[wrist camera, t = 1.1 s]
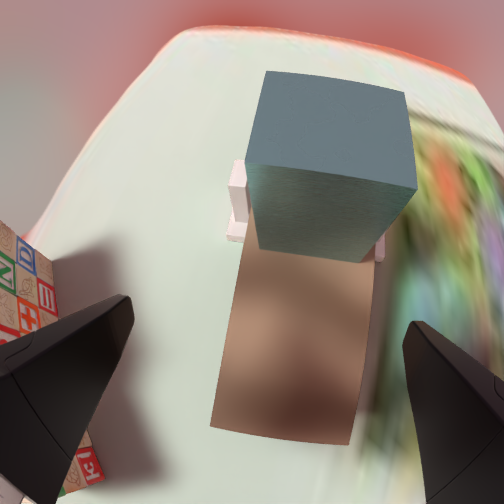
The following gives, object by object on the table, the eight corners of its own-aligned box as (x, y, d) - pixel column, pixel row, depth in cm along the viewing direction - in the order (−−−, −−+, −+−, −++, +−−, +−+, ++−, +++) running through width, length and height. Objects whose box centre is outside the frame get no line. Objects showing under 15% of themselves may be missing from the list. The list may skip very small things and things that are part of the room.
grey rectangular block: (358, 263, 18) (417, 189, 9) (259, 249, 19) (244, 162, 10) (361, 190, 19) (403, 92, 11) (271, 177, 20) (266, 70, 12)
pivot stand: (381, 262, 25) (407, 227, 19) (227, 240, 26) (216, 200, 21) (380, 211, 27) (401, 170, 21) (239, 191, 28) (232, 146, 23)
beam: (339, 426, 20) (356, 445, 15) (217, 409, 21) (201, 424, 16) (365, 138, 27) (377, 100, 22) (271, 124, 28) (269, 85, 23)
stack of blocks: (109, 479, 18) (9, 515, 7) (58, 485, 17) (-40, 506, 6) (52, 260, 27) (-28, 194, 16) (12, 281, 26) (-68, 229, 15)
